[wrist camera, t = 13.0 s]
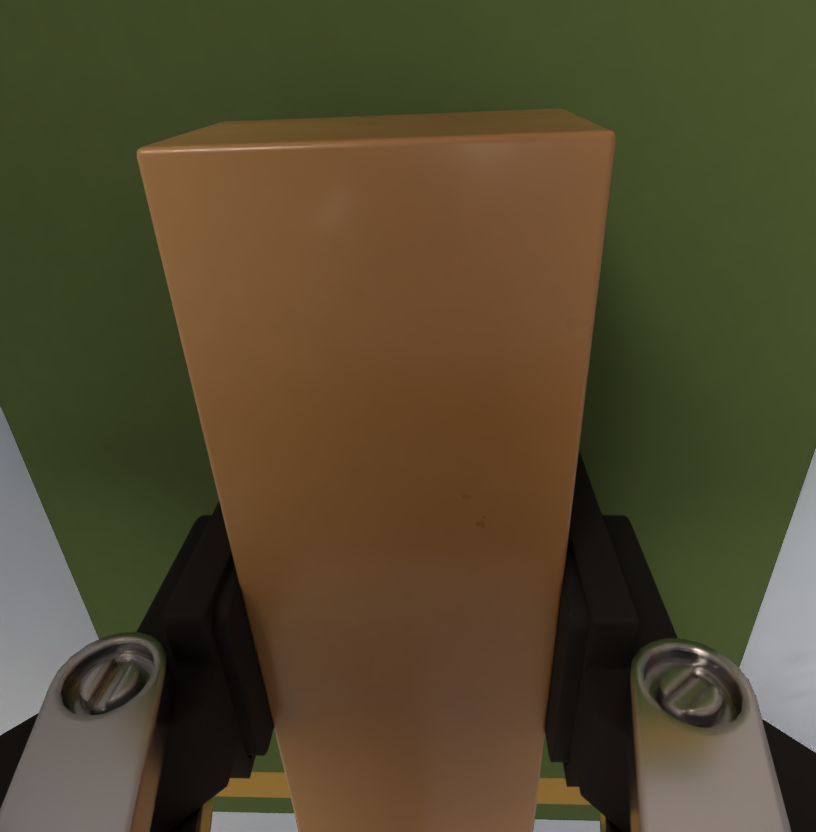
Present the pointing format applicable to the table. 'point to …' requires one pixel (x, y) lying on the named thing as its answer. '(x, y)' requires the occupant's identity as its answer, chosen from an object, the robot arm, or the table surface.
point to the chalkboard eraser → (393, 433)
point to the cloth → (423, 94)
